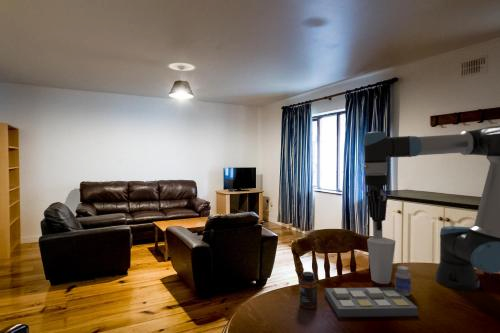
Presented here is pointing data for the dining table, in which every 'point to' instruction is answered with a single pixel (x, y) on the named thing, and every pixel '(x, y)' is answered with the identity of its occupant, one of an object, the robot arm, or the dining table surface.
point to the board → (371, 305)
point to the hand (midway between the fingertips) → (378, 238)
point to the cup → (381, 259)
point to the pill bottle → (403, 280)
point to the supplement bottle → (308, 290)
